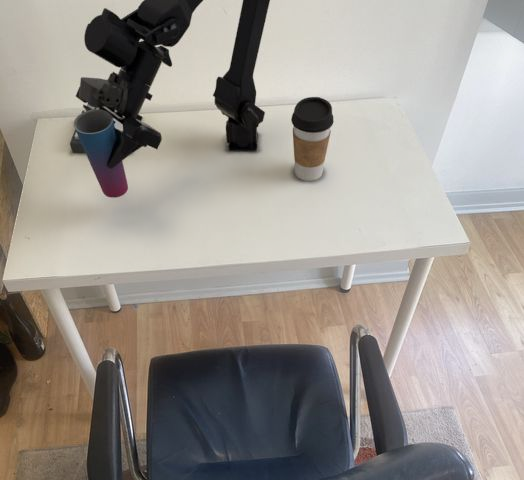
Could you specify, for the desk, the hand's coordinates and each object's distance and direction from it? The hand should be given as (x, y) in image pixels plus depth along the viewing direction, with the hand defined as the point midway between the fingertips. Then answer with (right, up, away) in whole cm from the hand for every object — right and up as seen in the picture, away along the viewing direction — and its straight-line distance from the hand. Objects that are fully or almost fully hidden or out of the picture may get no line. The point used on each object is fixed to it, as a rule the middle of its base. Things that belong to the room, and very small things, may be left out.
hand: (99, 159), depth 99 cm
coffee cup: (+40, +4, +18) cm, 44 cm away
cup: (+1, -3, +7) cm, 8 cm away
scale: (-6, +15, +26) cm, 31 cm away
